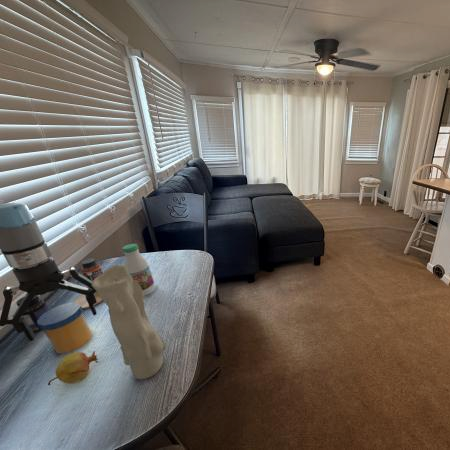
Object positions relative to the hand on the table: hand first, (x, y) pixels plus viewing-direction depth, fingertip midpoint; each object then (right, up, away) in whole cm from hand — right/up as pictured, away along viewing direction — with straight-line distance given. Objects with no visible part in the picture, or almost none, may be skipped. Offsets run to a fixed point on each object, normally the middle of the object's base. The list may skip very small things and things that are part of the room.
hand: (65, 324), depth 70 cm
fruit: (+11, -10, -8) cm, 17 cm away
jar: (0, -6, +3) cm, 7 cm away
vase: (+29, -9, -6) cm, 31 cm away
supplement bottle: (-16, +4, +30) cm, 34 cm away
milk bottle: (+7, +3, +25) cm, 26 cm away
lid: (0, +4, -1) cm, 4 cm away
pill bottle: (-17, -4, +9) cm, 19 cm away
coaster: (-11, +1, +21) cm, 24 cm away
